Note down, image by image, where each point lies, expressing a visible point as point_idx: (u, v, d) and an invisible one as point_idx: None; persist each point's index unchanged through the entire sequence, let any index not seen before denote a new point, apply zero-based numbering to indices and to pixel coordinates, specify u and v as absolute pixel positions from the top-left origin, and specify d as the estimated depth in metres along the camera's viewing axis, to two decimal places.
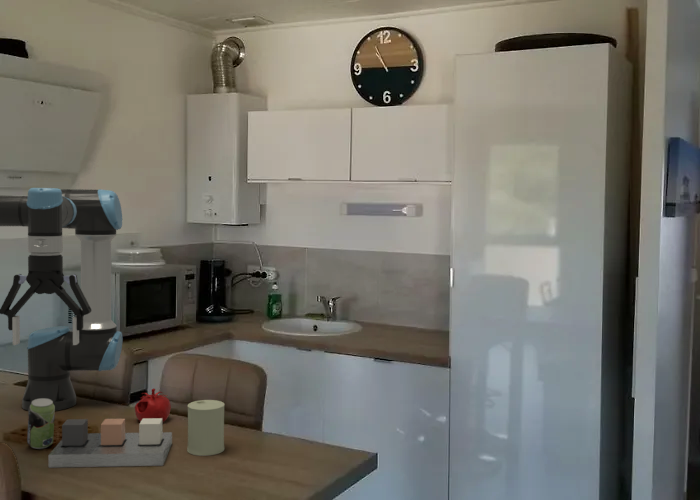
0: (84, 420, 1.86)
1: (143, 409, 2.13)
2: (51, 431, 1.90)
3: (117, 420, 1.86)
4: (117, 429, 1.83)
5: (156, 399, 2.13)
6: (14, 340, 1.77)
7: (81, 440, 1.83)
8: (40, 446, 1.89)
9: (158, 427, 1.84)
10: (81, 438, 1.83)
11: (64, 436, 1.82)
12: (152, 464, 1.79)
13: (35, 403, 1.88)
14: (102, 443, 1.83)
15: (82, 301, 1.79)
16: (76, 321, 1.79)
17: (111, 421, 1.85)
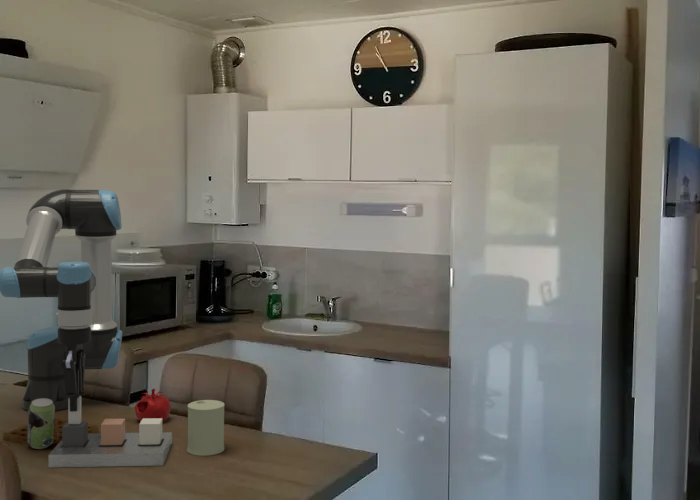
0: (84, 422, 1.86)
1: (143, 409, 2.13)
2: (51, 431, 1.90)
3: (117, 420, 1.86)
4: (117, 429, 1.83)
5: (156, 399, 2.13)
6: None
7: (81, 442, 1.83)
8: (40, 446, 1.89)
9: (158, 427, 1.84)
10: (81, 440, 1.83)
11: (64, 438, 1.82)
12: (152, 464, 1.79)
13: (35, 403, 1.88)
14: (102, 443, 1.83)
15: None
16: (69, 401, 1.83)
17: (111, 421, 1.85)
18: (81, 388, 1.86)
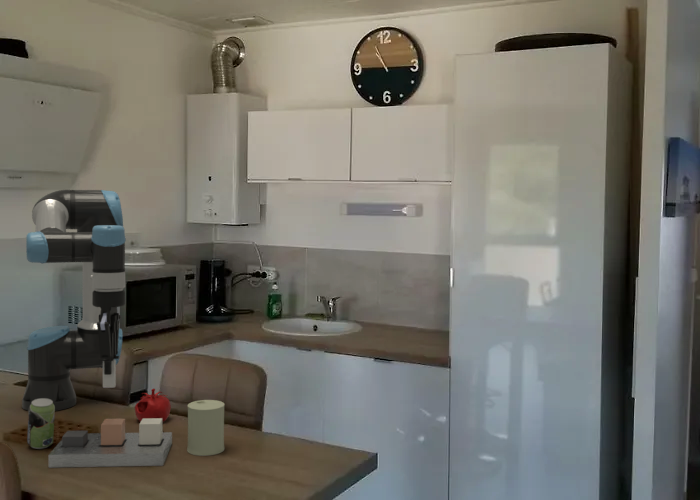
0: (84, 432, 1.86)
1: (143, 409, 2.13)
2: (51, 431, 1.90)
3: (117, 420, 1.86)
4: (117, 429, 1.83)
5: (156, 399, 2.13)
6: None
7: None
8: (40, 446, 1.89)
9: (158, 427, 1.84)
10: None
11: None
12: (152, 464, 1.79)
13: (35, 403, 1.88)
14: (102, 443, 1.83)
15: None
16: (104, 364, 1.83)
17: (111, 421, 1.85)
18: (115, 352, 1.85)
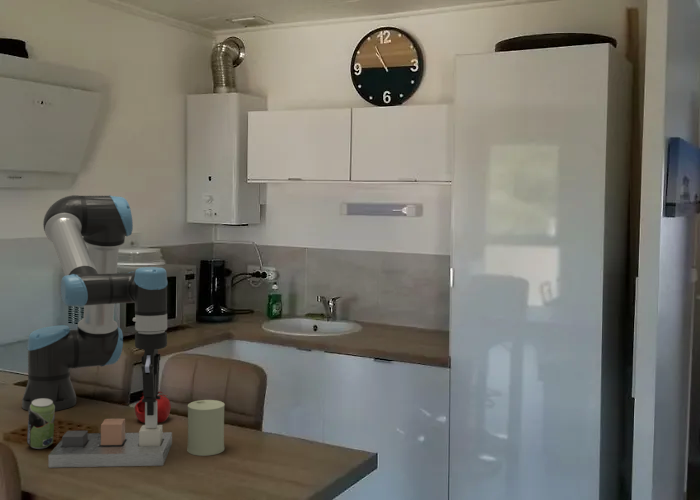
0: (84, 432, 1.86)
1: (143, 409, 2.13)
2: (51, 431, 1.90)
3: (117, 420, 1.86)
4: (117, 429, 1.83)
5: (156, 399, 2.13)
6: None
7: None
8: (40, 446, 1.89)
9: (158, 434, 1.84)
10: None
11: None
12: (152, 464, 1.79)
13: (35, 403, 1.88)
14: (102, 443, 1.83)
15: (143, 390, 1.82)
16: (146, 405, 1.85)
17: (111, 421, 1.85)
18: (157, 392, 1.88)
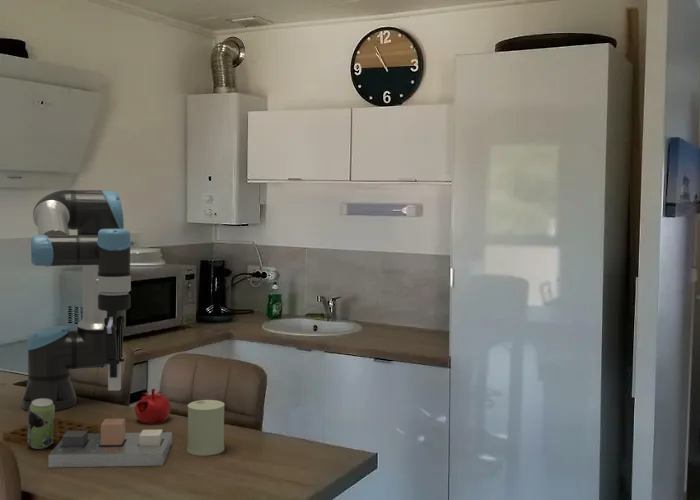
0: (84, 432, 1.86)
1: (143, 409, 2.13)
2: (51, 431, 1.90)
3: (117, 420, 1.86)
4: (117, 429, 1.83)
5: (156, 399, 2.13)
6: None
7: None
8: (40, 446, 1.89)
9: (158, 439, 1.84)
10: None
11: None
12: (152, 464, 1.79)
13: (35, 403, 1.88)
14: (102, 443, 1.83)
15: (105, 351, 1.80)
16: (109, 367, 1.84)
17: (111, 421, 1.85)
18: (120, 355, 1.86)
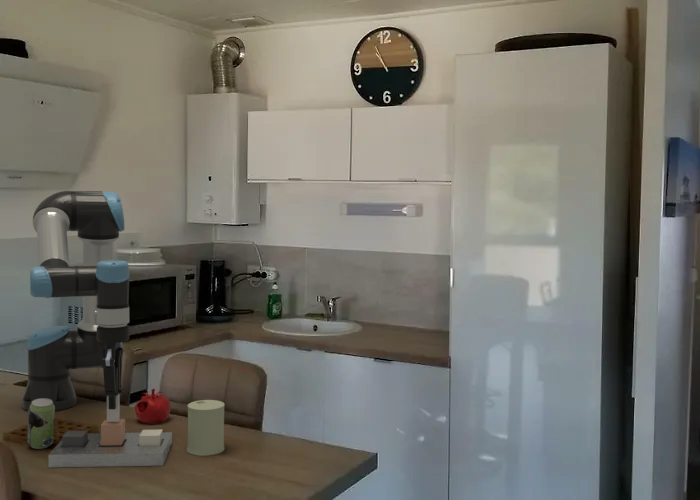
0: (84, 432, 1.86)
1: (143, 409, 2.13)
2: (51, 431, 1.90)
3: None
4: (117, 429, 1.83)
5: (156, 399, 2.13)
6: None
7: None
8: (40, 446, 1.89)
9: (158, 439, 1.84)
10: None
11: None
12: (152, 464, 1.79)
13: (35, 403, 1.88)
14: (102, 443, 1.83)
15: None
16: (108, 399, 1.84)
17: (111, 422, 1.85)
18: (119, 386, 1.87)
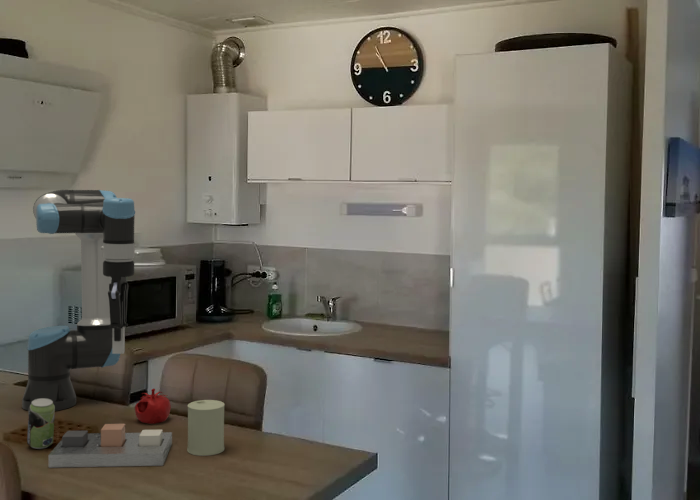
0: (84, 432, 1.86)
1: (143, 409, 2.13)
2: (51, 431, 1.90)
3: (117, 425, 1.87)
4: (117, 434, 1.83)
5: (156, 399, 2.13)
6: None
7: None
8: (40, 446, 1.89)
9: (158, 439, 1.84)
10: None
11: None
12: (152, 464, 1.79)
13: (35, 403, 1.88)
14: None
15: None
16: (113, 331, 1.91)
17: (111, 426, 1.85)
18: (124, 320, 1.93)
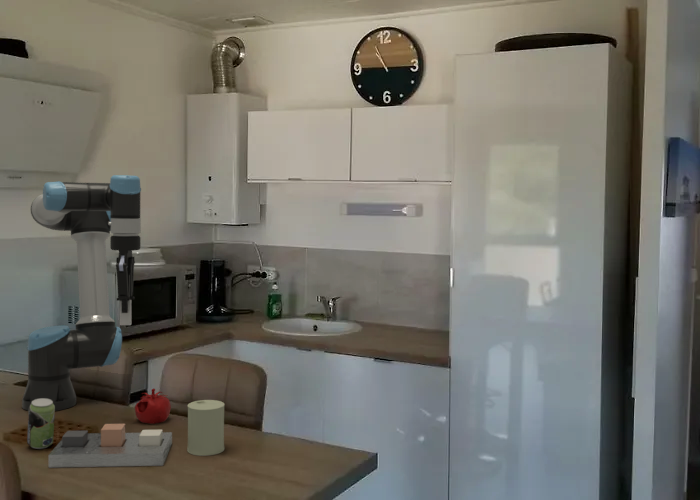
0: (84, 432, 1.86)
1: (143, 409, 2.13)
2: (51, 431, 1.90)
3: (117, 425, 1.87)
4: (117, 434, 1.83)
5: (156, 399, 2.13)
6: None
7: None
8: (40, 446, 1.89)
9: (158, 439, 1.84)
10: None
11: None
12: (152, 464, 1.79)
13: (35, 403, 1.88)
14: None
15: None
16: (121, 304, 1.99)
17: (111, 426, 1.85)
18: (131, 293, 2.01)
